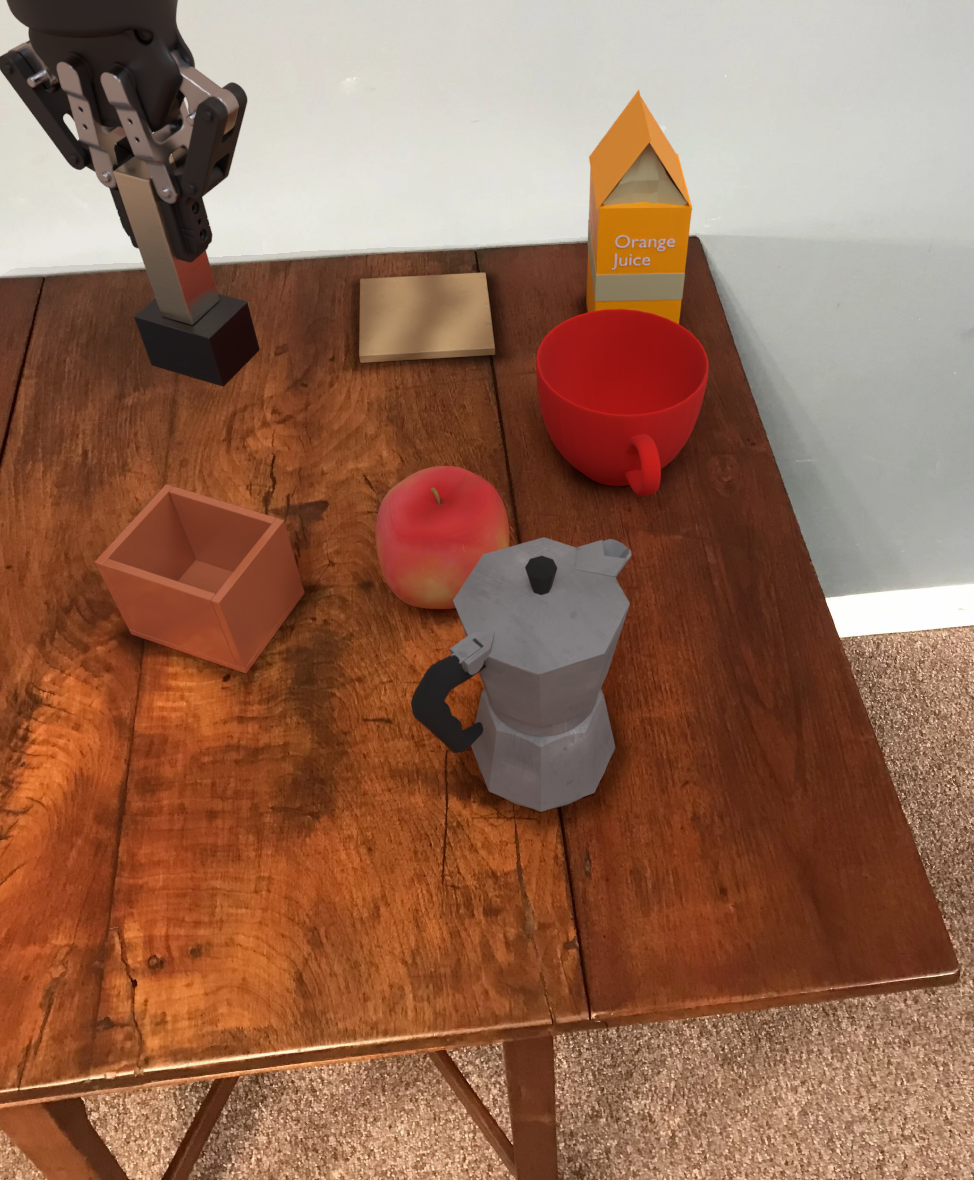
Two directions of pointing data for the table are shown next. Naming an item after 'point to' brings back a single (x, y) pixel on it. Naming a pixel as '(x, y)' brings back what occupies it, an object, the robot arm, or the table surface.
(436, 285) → the board
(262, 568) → the box
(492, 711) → the coffeepot
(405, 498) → the apple
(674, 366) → the ceramic cup
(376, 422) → the table surface
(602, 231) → the orange juice
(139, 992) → the table surface
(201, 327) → the steel square post
